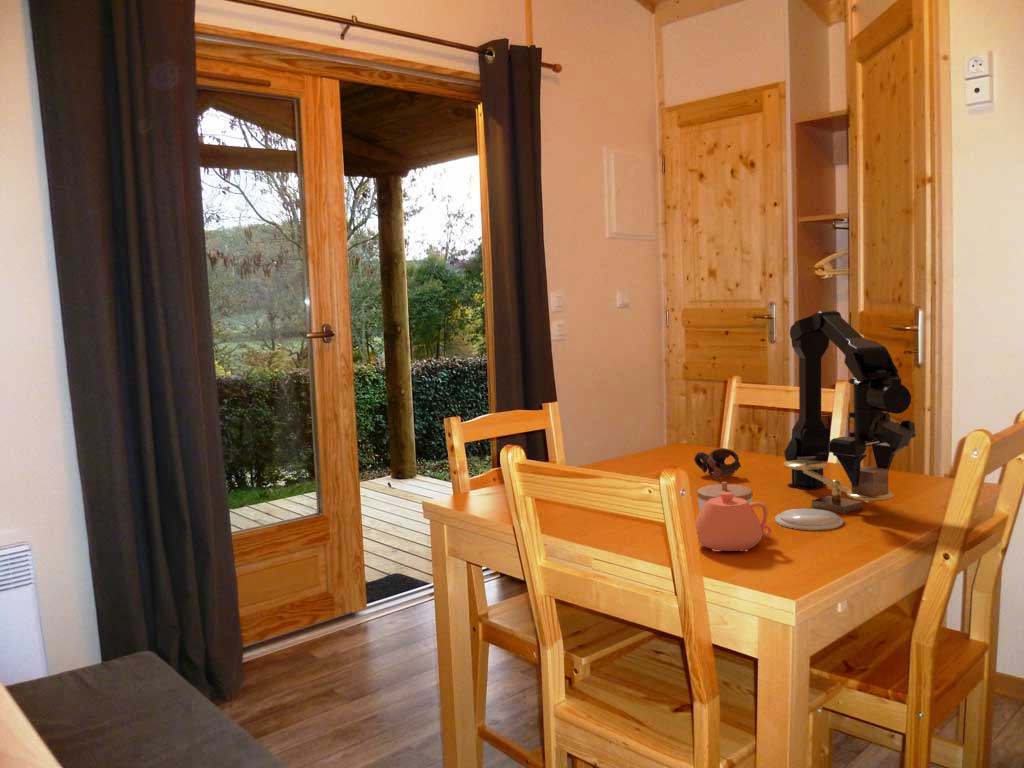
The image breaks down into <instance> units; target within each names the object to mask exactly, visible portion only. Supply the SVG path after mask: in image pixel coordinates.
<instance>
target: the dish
mask: <svg viewBox="0 0 1024 768" xmlns="http://www.w3.org/2000/svg"><path fill="white" fill-rule="evenodd" d="M774 517H775V518H774V521H776V522H775V523H776V524H777V523H778V524H777V525H779V526H781V525H782V526H781V527H784V528H787V527H788V529H792V528H793V530H798V529H799V530H800V531H826V530H832V529H837V528H840V527H842V526H843V524H844V519H843V517H841V516H840V515H837V514H836V512H833V511H829V510H824V509H819V508H794V509H787V510H784V511H782V512H781V513H779V514H777V515H775V516H774Z"/></svg>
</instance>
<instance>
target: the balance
mask: <svg viewBox="0 0 1024 768" xmlns="http://www.w3.org/2000/svg"><path fill="white" fill-rule="evenodd" d="M783 467H784V468H786V469H788V470H789V469H790V470H792V469H795V470H802V471H803V473H805V474H807V475H809V476H811V477H814V478H816V479H818V480H820V481H822V482H823V483H825V484H826V485H829V486H831V495H826V496H822V497H819V498H818V497H817V498H814V499H811V507H812V508H813V509H819V510H826V511H830V512H833V513H838V512H840V513H839V514H843V513H845V514H848V513H847V512H849V513H851V511H852V512H855V511H854V510H856V511H858V510H857V509H859V510H862V509H863V502H865V503H868V504H869V503H871V502H883V501H889V500H892V499H894V498H895V493H893V491H890V490H888V494H884V495H880V496H877V497H869V496H863V495H858V494H852V487H849V486H847V485H844V484H842V482H841V480H839V479H838V478H837V479H831V478H829V477H828V476H825V475H824V474H823V475H820V474H818V473H816V472H814V471H812V470H818V469H823V470H824V469H826V468H827V462H826V461H816V460H792V461H784V462H783ZM842 492H844V493H846V496H847V498H844V497H842ZM849 498H850V499H849ZM861 508H862V509H861Z"/></svg>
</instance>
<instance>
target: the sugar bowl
mask: <svg viewBox="0 0 1024 768" xmlns="http://www.w3.org/2000/svg"><path fill="white" fill-rule="evenodd" d="M720 496H721V497H717V498H712V499H709V500H708V501H707V502H706V503H705V505H704V506H703V508H702V510H701V511H700V510H699V512H698V513H699V514H698V515H697V518H696V519H695V520H696V521H695V524H694V526H695V525H696V529H697V534H698V539H699V541H698V542H699V543H700V544H701V545H702V546H703V547H704V548H707V549H710V550H712V549H714V550H722V551H721V552H723V551H724V552H732V551H733V552H734V551H735V552H737V551H738V552H740V551H739V550H742V551H745V550H749V549H752V548H754V547H756V546H757V544H758V543H759V542H760V541H761V539H762V537H767V536H769V535H771V534H772V532H773V531H772V527H771V526H770V525H768V524H766V523H767V520H768V516H769V515H768V514H769V511H768V507H767V506H766V505H765V504H764V503H763V502H760V501H752V503H750V504H749V503H748V502H747V501H746V500H745V499H742V498H737V497H733V496H734V494H733V493H731V492H723V493H720ZM755 507H760V508H762V511H763V512H762V517H761V521H760V519H759V516H758V515H757V513H756V512H755V510H754V508H755ZM765 529H767V531H765Z"/></svg>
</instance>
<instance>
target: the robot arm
mask: <svg viewBox="0 0 1024 768" xmlns="http://www.w3.org/2000/svg"><path fill="white" fill-rule="evenodd" d="M789 337H790V339H791V347H792V349H793V350H794V351H795V353H796V355H797V356H798V361H799V362H798V363H799V365H798V366H799V367H798V370H799V373H798V375H799V376H798V377H799V378H798V379H799V380H798V382H799V384H798V385H799V386H798V387H799V389H798V392H799V393H798V395H799V396H798V398H799V399H798V402H799V403H798V405H799V407H798V408H799V409H798V412H799V414H798V415H799V417H798V420H797V421H796V423H795V425H794V426H793V428H792V430H791V438H790V441H788V444H787V446H786V448H785V450H784V453H783V454H784V457H785V462H787V461H792V460H816V461H822V462H828V461H829V456H830V453H832V456H834V457H836V458H837V460H838V461H839V463H840V465H841V467H842V469H843V470H844V472H845V473H846V476H847V477H848V480H849V481H850V483H851V486H852V485H853V486H855V487H858V485H859V478H860V467H861V465H862V461H863V460H865V458H866V457H867V455H868V454H865V452H866V450H867V448H868V447H871V448H872V453H873V457H874V461H875V465H876V468H883V469H888V472H890V471H889V470H890V468H891V464H892V462H893V459H894V457H895V455H896V454H897V453H898V452H899V451H900V450H903V449H904V448H905V447H908V446H909V444H910V441H911V439H914V438H916V427H915V425H916V424H915V422H914V421H912V420H910V419H906V420H902V421H901V422H899V421H896V422H895V421H892V420H891V414H897V415H898V414H902V413H904V412H906V410H907V409H908V408H909V406H910V404H911V403H912V395H911V392H910V391H909V388H907V387H906V386H905V385H903V384H902V378H901V377H900V375H899V374H898V373H899V370H898V369H897V367H896V365H895V364H894V361H893V358H892V356H891V354H890V353H889V351H888V349H887V348H886V347H885V346H884V345H883V344H881V343H879V342H877V341H874V340H871V339H867V338H865V337H863V336H862V335H861V334H860V333H859V332H858V331H857V330H855V328H853V327H852V326H851V325H850V324H849V323H848V322H847V321H846V320H845V319H844V318H842V315H841V312H840V311H837V310H825V311H823V310H822V311H820V310H819V311H817V312H815V313H814V314H812V315H810V316H807V317H805V318H801V319H799V320H795V322H794V324H792V325H791V326H790V329H789ZM830 341H831V342H832V343H833V344H834V345H835V346H836V347H837V348H838V350H840V351H841V352H842V354H843V355H844V360H843V361H844V364H845V365H846V367H847V369H848V370H849V372H850V373H851V374H852V375H853V376H852V377H851V378H850V379H849V380H848V383H849V384H851V385H853V411H850V412H849V414H848V417H849V418H852V419H853V431H850V432H849V436H848V437H847V436H839V437H834V438H832V439H831V438H830V437H831V430H830V428H829V427H827V426H826V425H825V423H824V422H823V420H822V358H823V356H824V355H825V353H826V352H827V350H828V348H829V347H830ZM812 471H814V472H816V473H818V474H820V475H823V476H824V468H823V469H818V470H812ZM787 486H788V487H792V488H796V489H797V488H798V489H803V490H807V491H811V490H815V489H818V488H823V487H827V484H826V483H824V482H822V481H820V480H818V479H816V478H814V477H811V476H809V475H807V474H805V473H803V471H802V470H795V469H791V482H789V483H787Z"/></svg>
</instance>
